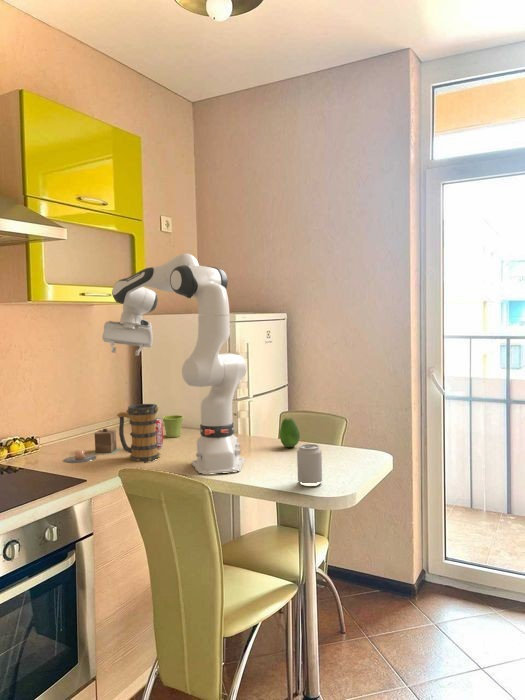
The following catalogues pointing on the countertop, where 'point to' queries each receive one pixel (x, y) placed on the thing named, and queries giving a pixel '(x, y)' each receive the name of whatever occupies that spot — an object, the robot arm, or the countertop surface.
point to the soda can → (159, 433)
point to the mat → (106, 453)
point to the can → (309, 463)
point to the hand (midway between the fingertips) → (125, 353)
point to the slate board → (72, 460)
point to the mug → (141, 432)
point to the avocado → (289, 433)
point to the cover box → (105, 441)
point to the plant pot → (173, 425)
